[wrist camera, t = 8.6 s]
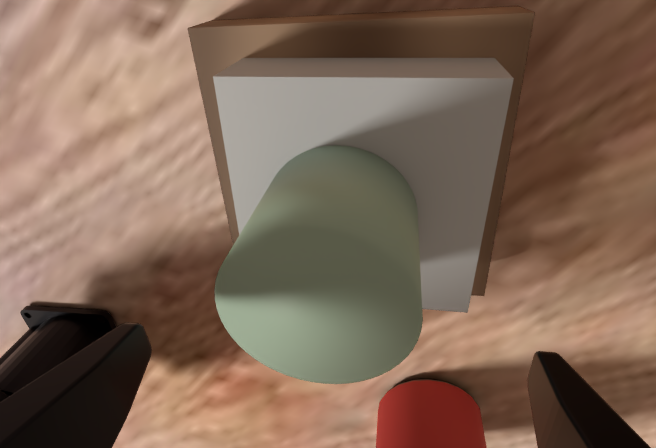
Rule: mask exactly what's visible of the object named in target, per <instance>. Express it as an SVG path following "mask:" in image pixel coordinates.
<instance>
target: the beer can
mask: <svg viewBox="0 0 656 448" xmlns="http://www.w3.org/2000/svg"><path fill="white" fill-rule="evenodd" d="M376 448H486V442H485V436H484V431H483V425H482V419H481V413H480V408H479V407H478V405H477V404H476V402H475V401H474V400H473V398H472V397H471V396H470V395H469V394H467V393H466V392H465V391H463V390H462V389H460V388H459V387H457V386H455V385H452V384H449V383H447V382H444V381H438V380H431V379H422V380H411V381H408V382H404V383H401V384H399V385H397V386H395V387H394V388H392V389H390V390H389V391H388V392H387V393H386V394H385V396H384V397H383V398H382V399H381V401H380V403H379V409H378V421H377V439H376Z"/></svg>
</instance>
